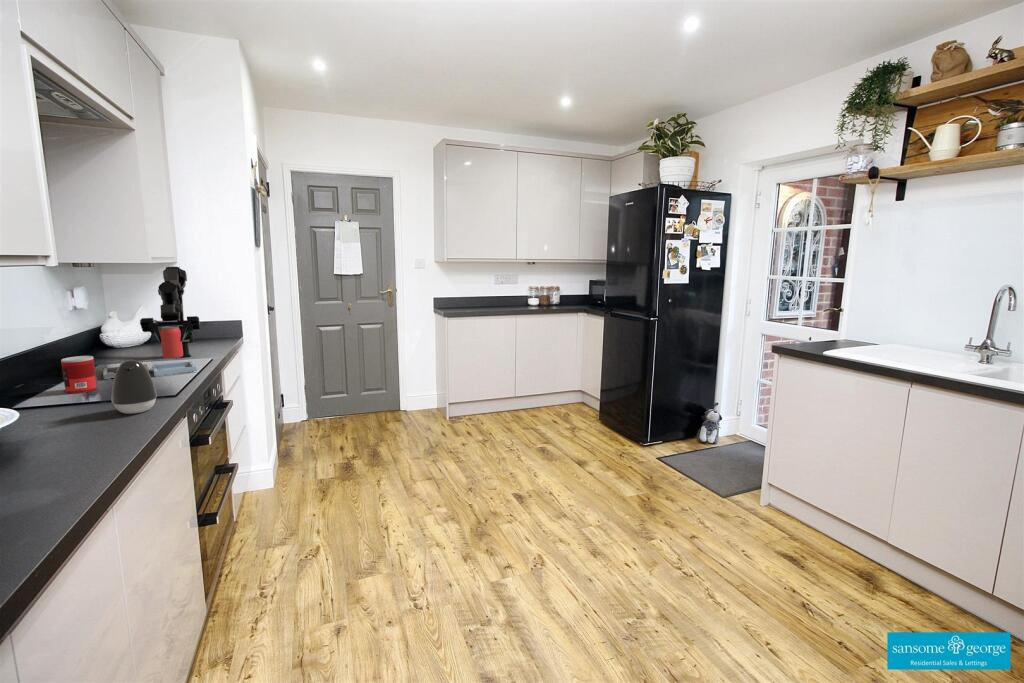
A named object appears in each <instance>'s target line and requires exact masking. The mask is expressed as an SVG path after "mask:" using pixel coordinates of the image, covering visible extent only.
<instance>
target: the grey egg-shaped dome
mask: <svg viewBox="0 0 1024 683" xmlns="http://www.w3.org/2000/svg"><path fill="white" fill-rule="evenodd" d="M117 367H118V369H117V371H116V374H115V377H114V379H113V382H112V387H111V403H112V404H113V405H114V407H115V409H116V410H117V411H119V412H120V413H123V414H127V415H135V414H141V413H145V412H147V411H149V410H151V408H153V406H154V405H155V404H156V399H157V397H158V393H157V390H156V386H155V383H154V381H153V379H152V375H151V374H150V371H149V372H148V370H147V369H146V367H145V366H144V365H143V363H142V362H141V361H140V360H137V359H127V360H125V361H122V362H121V363H120V364H119V366H117Z"/></svg>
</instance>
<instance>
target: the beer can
mask: <svg viewBox="0 0 1024 683" xmlns="http://www.w3.org/2000/svg"><path fill="white" fill-rule="evenodd" d="M159 331H160V338H161V342H160V344H161V346H160V347H161V355H162V358H163V359H165V360H166V359H167V360H172V359H173V360H175V359H180V358H183V357H182V356H183V347H182V341H181V331H180V329H179V327H178V326H160V330H159Z"/></svg>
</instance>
